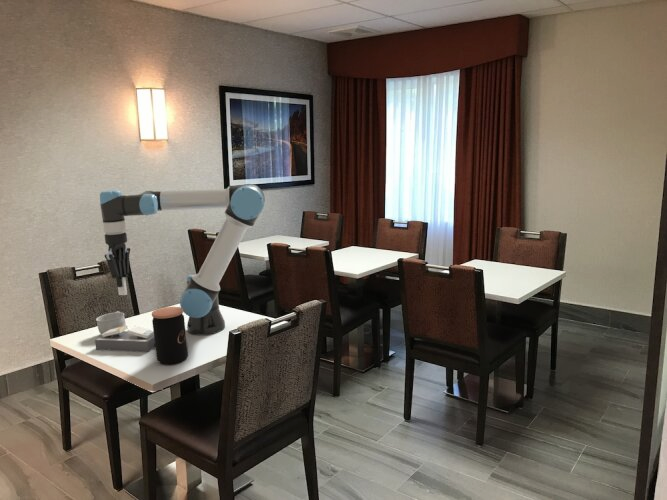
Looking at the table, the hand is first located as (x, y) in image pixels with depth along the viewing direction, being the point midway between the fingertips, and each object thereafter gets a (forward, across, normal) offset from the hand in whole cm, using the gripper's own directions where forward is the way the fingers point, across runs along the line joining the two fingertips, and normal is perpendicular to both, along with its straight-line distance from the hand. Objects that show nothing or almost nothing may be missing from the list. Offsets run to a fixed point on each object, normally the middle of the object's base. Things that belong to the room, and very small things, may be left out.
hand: (123, 294), depth 205 cm
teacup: (+21, -13, -15) cm, 29 cm away
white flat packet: (+15, 0, +6) cm, 16 cm away
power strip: (+21, 0, +2) cm, 21 cm away
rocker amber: (+15, 0, -5) cm, 16 cm away
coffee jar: (+21, +11, +24) cm, 34 cm away
